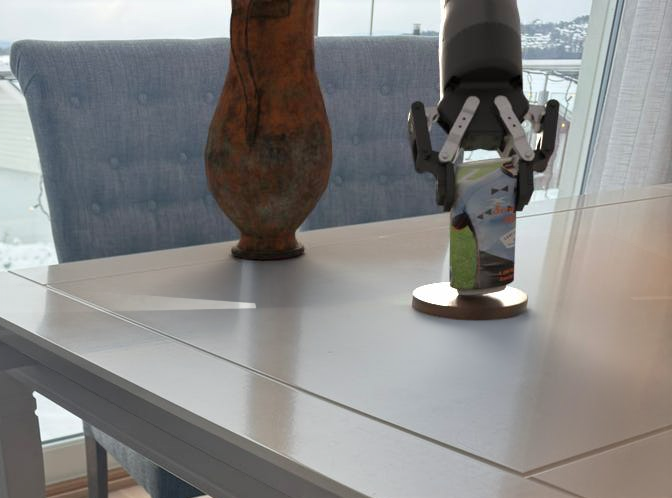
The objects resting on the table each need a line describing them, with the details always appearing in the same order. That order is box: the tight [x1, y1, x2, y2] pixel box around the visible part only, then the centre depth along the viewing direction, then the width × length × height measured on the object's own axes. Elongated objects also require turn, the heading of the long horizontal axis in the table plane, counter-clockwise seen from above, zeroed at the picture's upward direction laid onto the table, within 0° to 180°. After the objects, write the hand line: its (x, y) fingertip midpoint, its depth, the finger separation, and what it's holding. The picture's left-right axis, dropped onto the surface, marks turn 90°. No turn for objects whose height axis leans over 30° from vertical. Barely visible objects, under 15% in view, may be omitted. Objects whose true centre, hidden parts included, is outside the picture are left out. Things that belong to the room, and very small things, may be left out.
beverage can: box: [448, 157, 518, 295], centre depth 88 cm, size 6×7×12 cm
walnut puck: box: [411, 282, 529, 321], centre depth 92 cm, size 11×11×3 cm
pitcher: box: [203, 0, 334, 261], centre depth 117 cm, size 17×21×30 cm
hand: (484, 205), depth 86 cm, fingers closed on beverage can, 6 cm apart
